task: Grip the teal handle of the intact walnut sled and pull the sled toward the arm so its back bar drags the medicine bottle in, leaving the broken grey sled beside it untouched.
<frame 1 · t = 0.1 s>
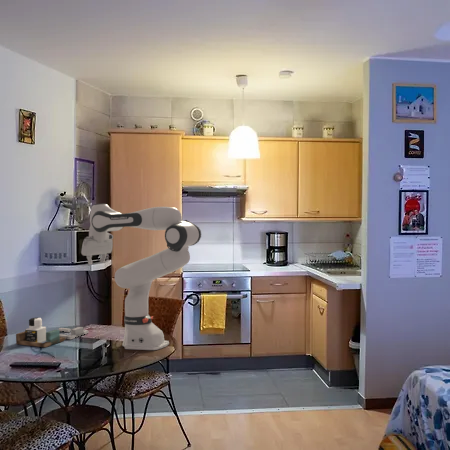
hand: (96, 263, 237), 39 cm above the table, tool pointing down, fingers open, 8 cm apart
medicine bottle: (36, 342, 237), resting in sled
sled: (40, 336, 235), point 3 cm above the table, slide at 0.0 cm
broken sled: (63, 334, 250), on the table
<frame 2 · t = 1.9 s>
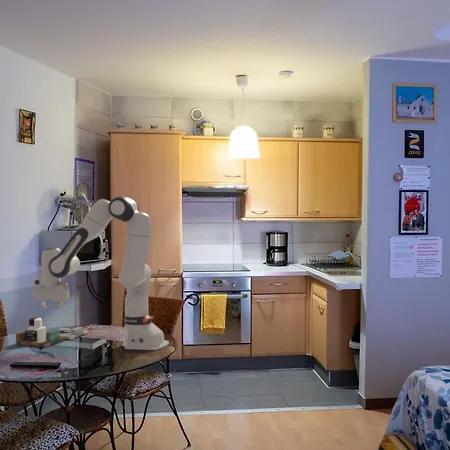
hand: (51, 309, 232), 17 cm above the table, tool pointing down, fingers open, 8 cm apart
nothing on the table moved.
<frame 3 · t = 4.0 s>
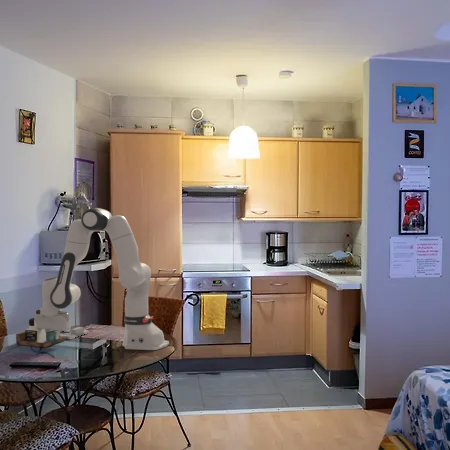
hand: (52, 338, 232), 3 cm above the table, tool pointing down, fingers closed on sled, 3 cm apart
sled: (40, 336, 235), point 3 cm above the table, slide at 0.0 cm, touching gripper
everything else where it was.
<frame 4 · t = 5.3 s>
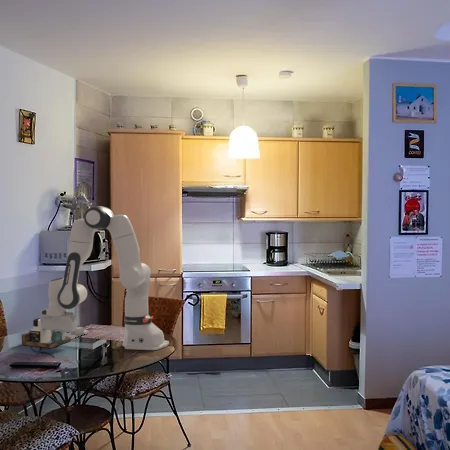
hand: (58, 339, 231), 3 cm above the table, tool pointing down, fingers closed on sled, 3 cm apart
medicine bottle: (40, 343, 235), resting in sled
sled: (46, 336, 234), point 3 cm above the table, slide at 3.7 cm, touching gripper, medicine bottle
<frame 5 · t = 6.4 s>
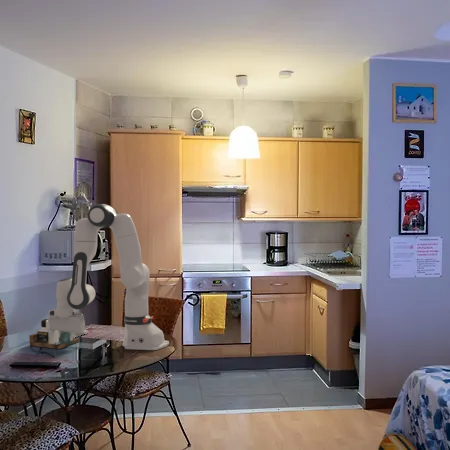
hand: (67, 340, 229), 3 cm above the table, tool pointing down, fingers closed on sled, 3 cm apart
medicine bottle: (48, 344, 233), resting in sled
sled: (54, 337, 232), point 3 cm above the table, slide at 8.8 cm, touching gripper, medicine bottle
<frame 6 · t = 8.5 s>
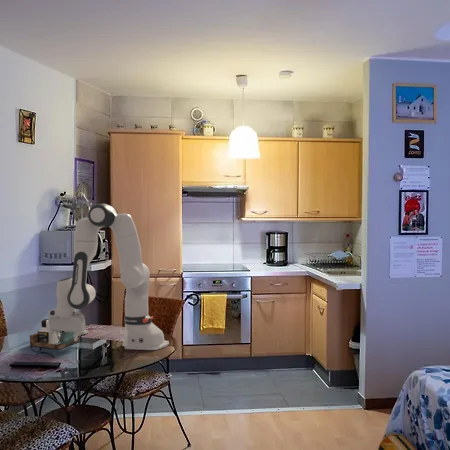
hand: (67, 339, 229), 3 cm above the table, tool pointing down, fingers open, 8 cm apart
medicine bottle: (48, 344, 233), resting in sled
sled: (54, 337, 232), point 3 cm above the table, slide at 9.0 cm
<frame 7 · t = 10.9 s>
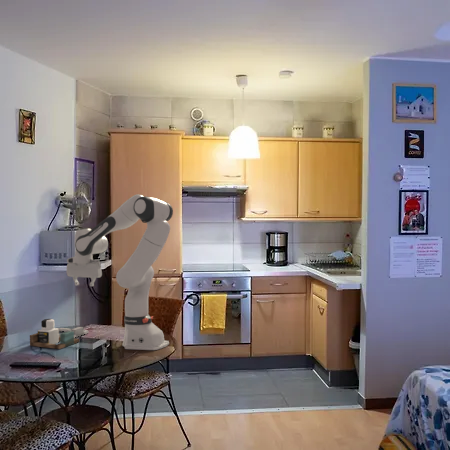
hand: (84, 285, 247), 26 cm above the table, tool pointing down, fingers open, 8 cm apart
nothing on the table moved.
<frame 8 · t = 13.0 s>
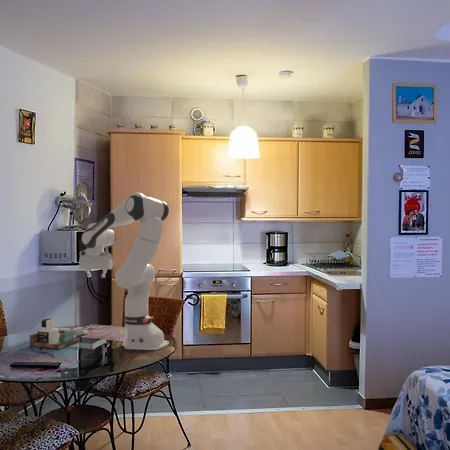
hand: (96, 277, 259), 29 cm above the table, tool pointing down, fingers open, 8 cm apart
nothing on the table moved.
at the end: sled slide at 9.0 cm; medicine bottle inside the target area (1.3 cm from its centre), resting in sled; medicine bottle tilted 0° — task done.
